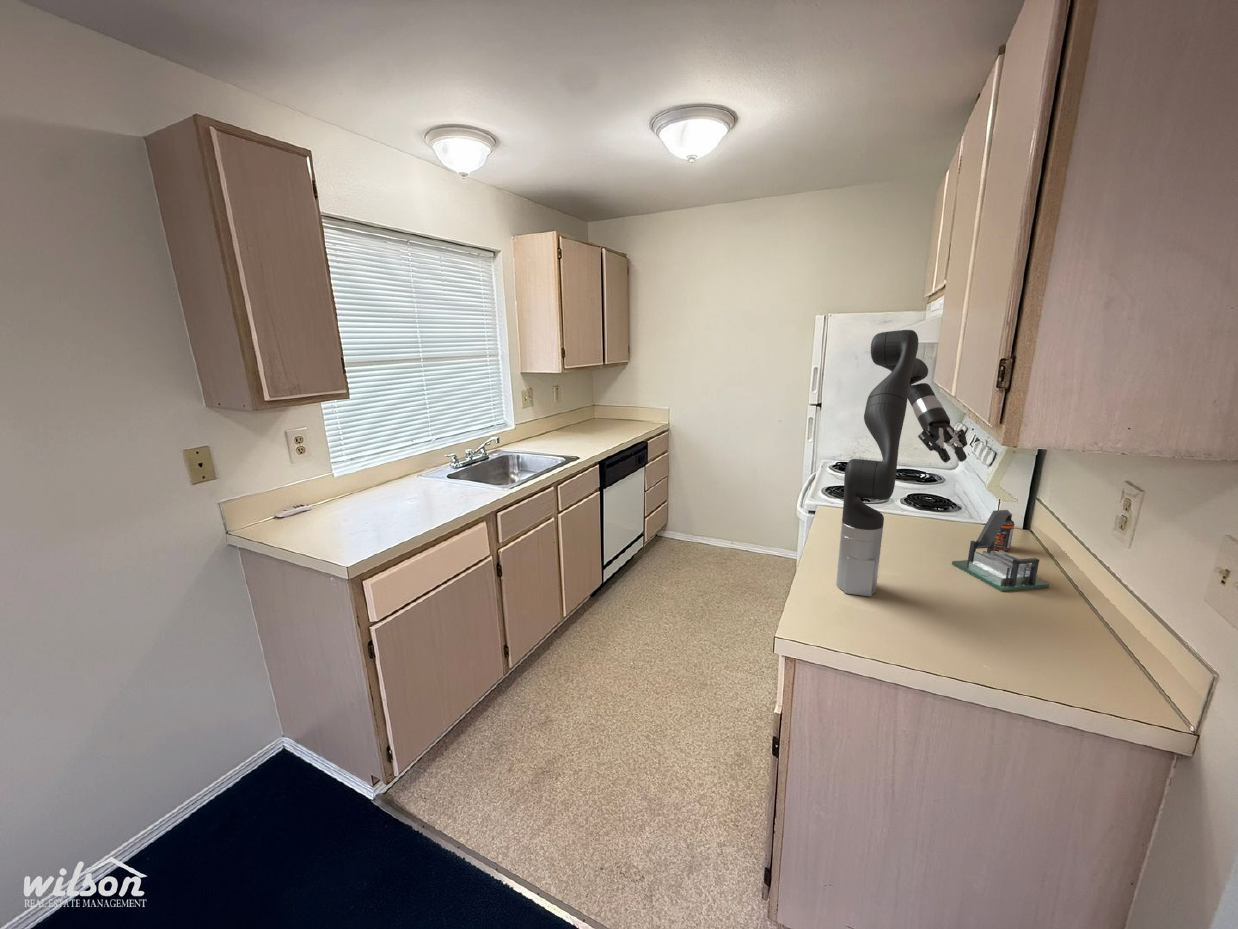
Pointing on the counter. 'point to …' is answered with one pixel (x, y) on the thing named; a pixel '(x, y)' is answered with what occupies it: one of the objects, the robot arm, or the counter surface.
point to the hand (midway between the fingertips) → (955, 460)
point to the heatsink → (1002, 569)
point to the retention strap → (991, 528)
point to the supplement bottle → (1004, 535)
